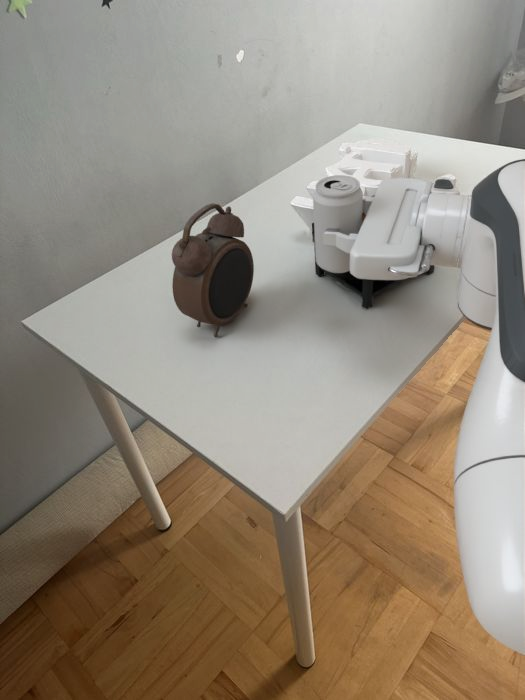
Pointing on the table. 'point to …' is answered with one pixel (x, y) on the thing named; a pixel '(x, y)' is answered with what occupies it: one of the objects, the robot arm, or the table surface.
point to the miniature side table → (361, 280)
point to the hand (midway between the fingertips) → (331, 221)
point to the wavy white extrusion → (364, 169)
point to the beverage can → (336, 218)
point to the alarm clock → (212, 269)
